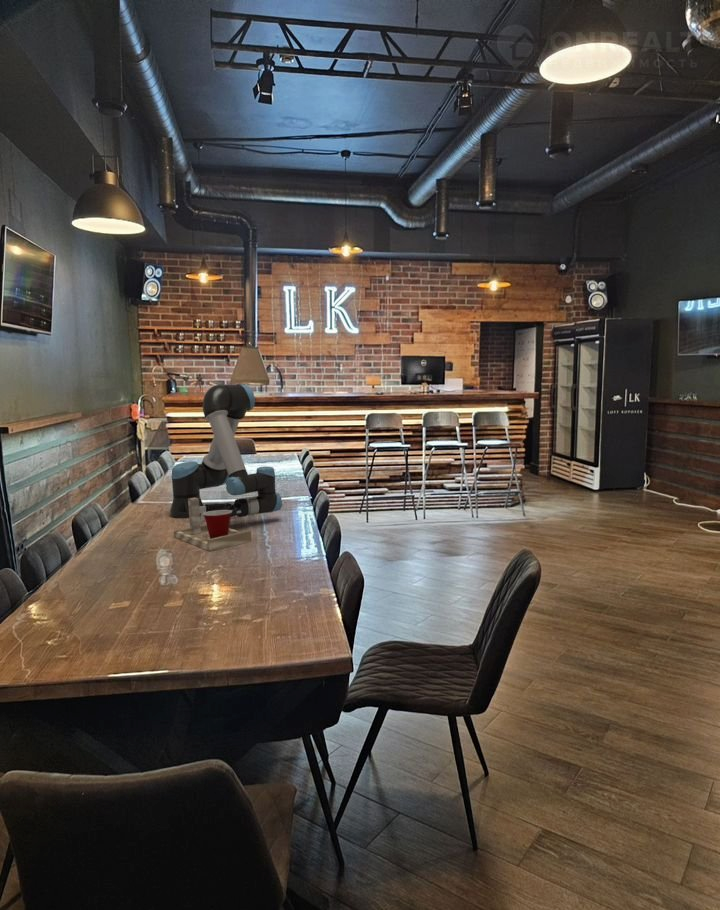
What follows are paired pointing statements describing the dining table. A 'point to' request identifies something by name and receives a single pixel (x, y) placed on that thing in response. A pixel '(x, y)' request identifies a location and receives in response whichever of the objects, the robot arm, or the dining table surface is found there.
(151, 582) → the dining table surface
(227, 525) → the plastic cup
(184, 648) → the dining table surface
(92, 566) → the dining table surface
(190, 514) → the open rectangular frame
